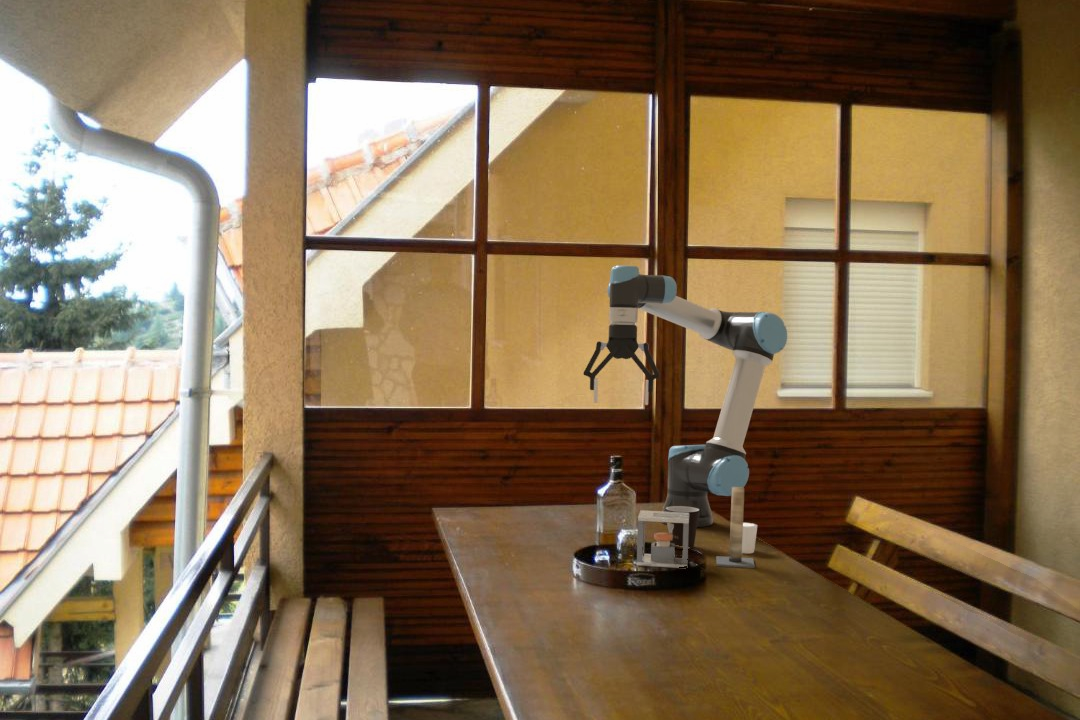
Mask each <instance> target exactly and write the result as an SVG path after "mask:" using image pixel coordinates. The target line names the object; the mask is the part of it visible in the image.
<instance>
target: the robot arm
mask: <svg viewBox="0 0 1080 720" xmlns="http://www.w3.org/2000/svg"><path fill="white" fill-rule="evenodd" d="M639 271H640V270H639V267H638V266H635V265H615V266H613V267H612V268H611V270H610V274H609V275H610V277H609V284H608V285H607V291H606V292H607V296H608V298H609V311H608V312H609V314H608V322H609V323H610V324H609V326H608V339H607V340H608V341H607V342H603V341H601V340H600V341H597V342H596V346H595V350H594V352H593V354H592V355H591V358H590V360H589V361H588V364H587V365H586V368H585V369H584V371H583V375H584V376H586V377H588V378H589V389H590V391H593V404H597V403H598V399H599V398H598V394H599V393H598V392H599V390H598V389H599V387H598V386H599V378H598V377H597V376H598V374H599V373H600V372H601V371H602V370H603V369H604V368H605V366H607V364H608V363H609V362H610V361H611V360H612V359H613V358H614V359H616V360H619V359H623V360H630V359H632V361H633V362H634V363H635V364H636V365H637V367H638V368H639V369H640V371H642V373H643V375H645V376H646V378H647V379H645V384H644V385H645V387H644V390H645V391H644V406H645V405H646V406H648V405H649V393H652V392H654V391H653V390H654V380H656V379H659V378H660V377H661V374H660V372H659V369H658V367H657V365H656V363H655V361H654V359H653V356H652V355H651V352H650V346H649V343H648V342H644V343H638V326H637V325H636V324H637V323H638V316H639V315H638V313H639V312H638V311H639V310H641V311H643V312H646V313H648V314H650V315H653V316H656V317H658V318H661V319H663V320H666V321H668V322H671V323H673V324H675V325H678V326H680V327H683V328H685V329H687V330H691V331H693V332H695V333H698V334H699V336H700V338H701V339H703V340H706V341H708V342H711V343H713V344H715V345H718V346H719V347H722V348H724V349H727V350H730V351H732V355H733V356H734V358H735V361H734V365H733V368H732V371H731V374H730V378H729V382H728V385H727V389H726V392H725V395H724V399H723V403H722V406H721V408H720V409H721V410H720V413H719V417H718V420H717V423H716V427H715V430H714V434H713V437H712V438H711V439H709V440H707V441H706V443H705V444H692V445H691V444H689V445H687V444H686V445H673V446H671V447H670V448H669V450H668V459H667V494H666V495H667V496H666V498H665V499H666V500H665V502H664V505H663V507H662V510H661V511H664V512H666V508H667V507H672V506H685V507H693V508H697V509H699V515H698V522H697V528H702V527H703V528H704V527H708V526H711V525H713V520H714V519H713V514H712V510H711V507H710V502H709V499H708V493H710V494H714V495H716V496H725V497H732V487H742V488H744V487H745V486H746V484H747V482H748V479H749V475H750V468H749V465H748V462H747V461H746V455H747V452H746V450H745V449H744V447H743V445H744V442H745V438H746V435H747V432H748V429H749V425H750V421H751V417H752V414H753V411H754V407H755V405H756V401H757V397H758V393H759V390H760V386H761V382H762V379H763V375H764V371H765V368H766V367H767V366H769V365H771V364H772V363H773V359H774V356H775V355H776V354H779V353H780V352H781V351H783V349H785V346H786V345H787V341H788V330H787V327H786V326H785V322H784V320H783V319H782V318H781V317H780V316H779V315H778V314H776V313H772V312H766V311H759V312H757V311H756V312H755V311H754V312H753V311H752V312H751V311H748V312H743V311H736V312H734V311H724V310H719V309H718V308H715V307H712V308H709V309H708V308H706V307H703V306H702V305H698V304H697V303H694V302H692V301H689V300H687V299H685V298H683V297H680V296H677V288H678V286H677V283H676V281H675V278H673V277H672V276H667V275H663V274H661V275H657V274H656V275H655V274H641V273H640V272H639ZM605 348H606V349H608V352H609V353H608V354H607V355H606V356H605V358H603V360H602V361H601V362H600V363H599V364H598V366H597V367H596V368H595V369H594V370H593V371H592V372H591V370H592V368H593V366H594V364H595V363H596V361H597V359H598V358H599V355H600V353H601V351H603V350H605ZM639 349H640V351H641V352H644V355H645V357H646V359H647V362H648V364H649V366H650V368H651V370H652V372H653V373H651V372H650V370H649V369H648V368H647V367H646V366H645V365H644V363H643V362H642V361H641V359H639V357H638V356H637V354H636V351H637V350H639ZM660 517H664V516H660ZM661 523H663V524H665V525H667V522H661Z"/></svg>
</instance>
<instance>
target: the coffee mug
mask: <svg viewBox="0 0 1080 720" xmlns="http://www.w3.org/2000/svg"><path fill="white" fill-rule="evenodd" d="M666 512H683V513H689V534H688V547H690V548H693V549H694V548H695V541H696V535H697V529H698V527H697V522H698V515H699V509H697V508H693V507H685V506H672V507H667V508H666ZM666 526H667V533H670V534H672V535H673V537H672V540H671V541H670V543H673V544H675V545H679V546H683V523H672V522H667V524H666Z"/></svg>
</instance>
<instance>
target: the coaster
mask: <svg viewBox="0 0 1080 720" xmlns="http://www.w3.org/2000/svg"><path fill="white" fill-rule="evenodd" d="M715 558H716V559H715V561H716V567H723V568H724V567H725V568H726V567H727V568H743V569H755V568H756V566H755V562H754V561H755V560H754V558H753V557H742V561H741V562H730V561H729V556H722V555H720V556H719V555H716V557H715Z"/></svg>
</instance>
